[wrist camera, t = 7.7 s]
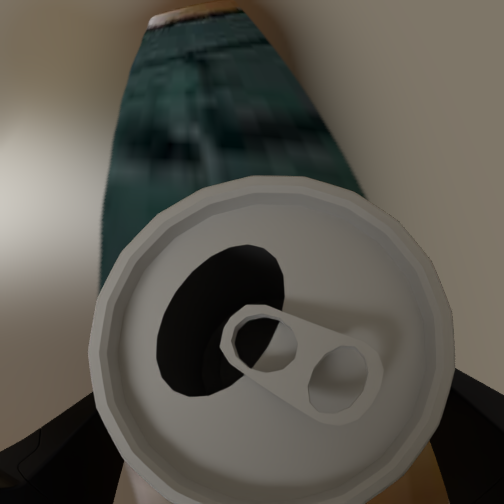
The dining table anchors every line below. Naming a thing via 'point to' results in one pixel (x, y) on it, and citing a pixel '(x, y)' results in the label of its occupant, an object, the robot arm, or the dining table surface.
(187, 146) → the dining table surface
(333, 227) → the can
